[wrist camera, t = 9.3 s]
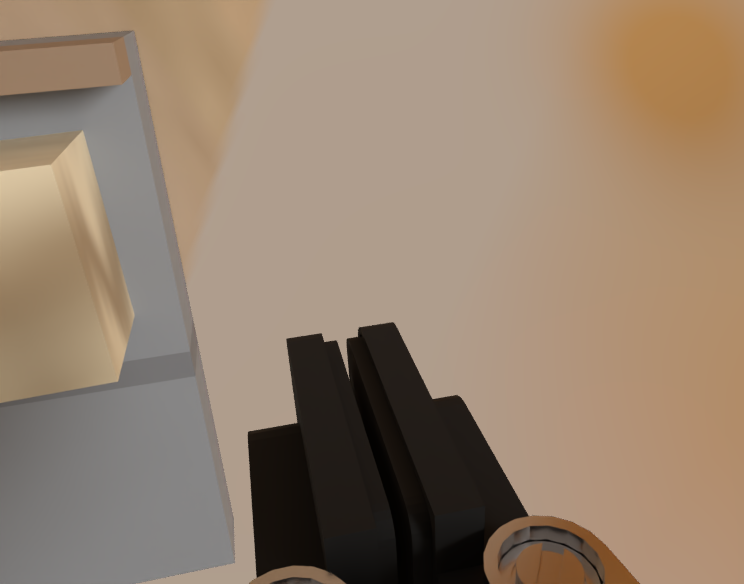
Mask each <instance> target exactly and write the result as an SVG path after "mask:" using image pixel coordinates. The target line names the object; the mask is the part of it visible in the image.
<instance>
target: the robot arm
mask: <svg viewBox="0 0 744 584" xmlns="http://www.w3.org/2000/svg"><path fill="white" fill-rule="evenodd" d="M287 348H288V356H289V363H290V371H291V377H292V385H293V392H294V400H295V408H296V415H297V422H298V423H296V424H289V425H283V426H278V427H273V428H267V429H261V430H255V431H249V432H248V448H249V462H250V463H249V464H250V479H251V496H252V510H253V511H252V512H253V527H254V542H255V559H256V575H257V578H256V579H254V580H252V581H251V582H250V583H249V584H640V583H639V582H638V581H637V580H636V579H635V577H634V576H633V575H632V574H631V573H630V572H629V571H628V569H627V568H626V567H625V566H624V565H623V564H622V563H621V562H620V560H619V559H618V558H617V557H616V556H615V555H614V554H613V552H612V551H611V550H610V549H609V548H608V547H607V546H606V545H605V544H604V543H603V542H602V541H601V540H600V539H599V538H597V537H596V536H595V535H594V534H593V533H592V532H590V531H589V530H587V529H585V528H583V527H581V526H579V525H577V524H575V523H574V522H571V521H568V520H564V519H560V518H557V517H553V516H528V514H527V512H526V510H525V509H524V507H523V505H522V503H521V502H520V500H519V499H518V496H517V495H516V493H515V491H514V489H513V488H512V486H511V484H510V482H509V480H508V479H507V477H506V475H505V473H504V472H503V470H502V468H501V466H500V465H499V463H498V461H497V460H496V457H495V456H494V454H493V452H492V450H491V449H490V447H489V445H488V443H487V441H486V440H485V438H484V436H483V434H482V433H481V431H480V429H479V427H478V426H477V424H476V422H475V420H474V419H473V417H472V415H471V413H470V412H469V410H468V408H467V406H466V404H465V403H464V401H463V400H462V398H461V397H459V396H457V395H455V396H449V397H443V398H438V399H432V398H431V396H430V394H429V392H428V389H427V388H426V385H425V383H424V381H423V379H422V378H421V375H420V374H419V371H418V369H417V367H416V365H415V363H414V361H413V359H412V357H411V355H410V353H409V351H408V349H407V347H406V345H405V343H404V341H403V339H402V337H401V335H400V333H399V331H398V329H397V327H396V325H395V324H394V323H393V322H392V323H386V324H379V325H372V326H366V327H360V328H359V329H358V337H354V338H348V339H347V355H348V367H349V377H348V374H347V372H346V368H345V365H344V362H343V359H342V355H341V352H340V349H339V346H338V343H337V341H329V342H324V340H323V336H322V334H314V335H308V336H301V337H295V338H288V339H287ZM349 378H350V381H349Z"/></svg>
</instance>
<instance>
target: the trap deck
mask: <svg viewBox="0 0 744 584" xmlns="http://www.w3.org/2000/svg"><path fill="white" fill-rule="evenodd" d="M79 130H83V132H84V136H85V140H86V143H87V147H88V150H89V154H90V157H91V161H92V165H93V168H94V172H95V175H96V179H97V182H98V186H99V190H100V193H101V197H102V200H103V204H104V207H105V211H106V215H107V218H108V222H109V225H110V229H111V232H112V236H113V240H114V243H115V247H116V250H117V254H118V257H119V261H120V265H121V268H122V272H123V275H124V279H125V282H126V286H127V290H128V293H129V297H130V300H131V304H132V307H133V311H134V315H135V316H134V320H133V324H132V328H131V332H130V336H129V340H128V344H127V348H126V352H125V356H124V360H123V364H122V368H121V371H120V375H119V379H118V382H113V383H107V384H102V385H96V386H91V387H85V388H80V389H74V390H69V391H63V392H58V393H52V394H47V395H41V396H36V397H30V398H25V399H19V400H14V401H8V402H3V403H0V584H136V583H141V582H146V581H150V580H155V579H160V578H165V577H169V576H174V575H179V574H184V573H188V572H194V571H198V570H203V569H208V568H212V567H218V566H222V565H227V564H232V563H235V550H234V518H233V513H232V508H231V503H230V498H229V494H228V488H227V484H226V479H225V474H224V469H223V464H222V459H221V454H220V450H219V444H218V439H217V435H216V430H215V425H214V420H213V415H212V411H211V405H210V400H209V395H208V390H207V386H206V381H205V376H204V371H203V366H202V361H201V356H200V351H199V346H198V342H197V337H196V332H195V327H194V323H193V317H192V313H191V307H190V302H189V297H188V293H187V288H186V283H185V278H184V273H183V268H182V263H181V258H180V253H179V248H178V244H177V239H176V234H175V229H174V224H173V219H172V214H171V209H170V204H169V200H168V195H167V190H166V185H165V180H164V175H163V170H162V165H161V160H160V155H159V151H158V146H157V141H156V136H155V131H154V126H153V121H152V116H151V111H150V106H149V102H148V97H147V92H146V87H145V82H144V77H143V72H142V67H141V62H140V58H139V53H138V48H137V43H136V38H135V33H134V31H123V32H110V33H97V34H84V35H71V36H58V37H45V38H32V39H19V40H6V41H0V140H8V139H16V138H24V137H31V136H39V135H47V134H55V133H63V132H71V131H79Z"/></svg>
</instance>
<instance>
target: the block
mask: <svg viewBox="0 0 744 584" xmlns="http://www.w3.org/2000/svg"><path fill="white" fill-rule="evenodd" d="M134 316H135V315H134V311H133V307H132V304H131V300H130V297H129V293H128V290H127V286H126V282H125V279H124V275H123V272H122V268H121V265H120V261H119V257H118V254H117V250H116V247H115V243H114V240H113V236H112V232H111V229H110V225H109V222H108V218H107V215H106V211H105V207H104V204H103V200H102V197H101V193H100V190H99V186H98V182H97V179H96V175H95V172H94V168H93V165H92V161H91V157H90V154H89V150H88V147H87V143H86V140H85V136H84V132H83V130H79V131H71V132H63V133H55V134H47V135H39V136H31V137H24V138H16V139H8V140H0V403H3V402H8V401H14V400H19V399H25V398H30V397H36V396H41V395H47V394H52V393H58V392H63V391H69V390H74V389H80V388H85V387H91V386H96V385H102V384H107V383H113V382H118V379H119V375H120V371H121V368H122V364H123V360H124V356H125V352H126V348H127V344H128V340H129V336H130V332H131V328H132V324H133V320H134Z"/></svg>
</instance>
